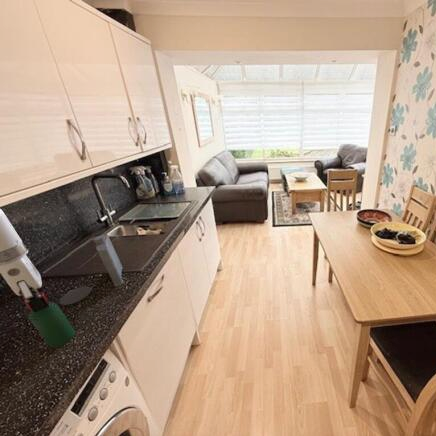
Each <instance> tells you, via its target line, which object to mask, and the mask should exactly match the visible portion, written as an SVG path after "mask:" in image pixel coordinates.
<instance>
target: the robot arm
mask: <svg viewBox="0 0 436 436" xmlns="http://www.w3.org/2000/svg"><path fill="white" fill-rule="evenodd" d="M27 254H29V249H28V248H27V246H26V245H25V243H24V242H23V240H22V238H21V237H20V235H19V234H18V233H17V231H16V229H15V227H14V226H13V225H12V223H11V222H10V220H9V218H8V217H7V215H6V214H5V212H4V211H3V209H2V208H0V274H1V276H2V278H3V279H4V281H5V282H6V283H7V284H8V286H9V287H10V289H11V290H12V292H13V293H14V294H15V295H16V296H22V297H23V298H24V299H25V300H26V301H27V303H28V305H29V306H30V308H31V309H32V310H33V312H38V311H40V310H42V309H45V308H47V307H49V304H48V303H47V301H46V300H45V298H44V297H43V295H42V296H41V295H40V293H39V292H43V293H44V294H45V296H46V298H47V299H48V295H47V294H46V292H45V291H44V290H43V288H42V286H43V282H42V277H41V273H40V272H39V271H38V269H37V268H36V267H35V265H34V264H33V262H32V261H31V260H30V258H29V257H28V256H27ZM35 293H36V294H35Z"/></svg>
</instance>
